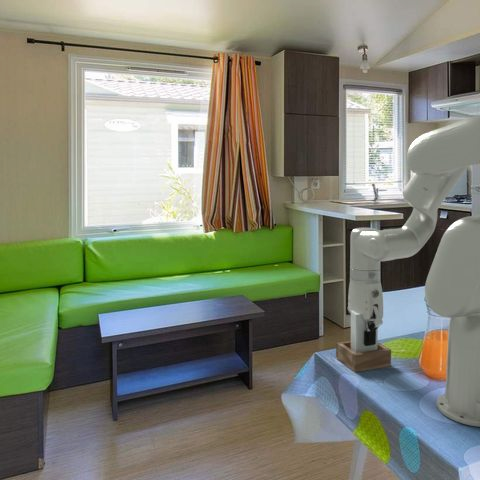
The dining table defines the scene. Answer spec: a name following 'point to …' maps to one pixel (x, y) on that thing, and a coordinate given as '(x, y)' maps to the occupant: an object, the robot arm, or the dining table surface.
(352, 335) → the skincare box
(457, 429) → the dining table surface
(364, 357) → the small open wooden box
